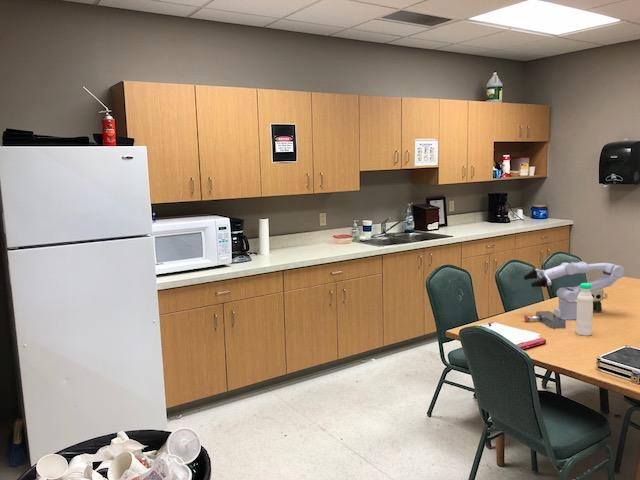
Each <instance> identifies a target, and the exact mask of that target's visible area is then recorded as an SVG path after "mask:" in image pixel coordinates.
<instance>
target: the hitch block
mask: <svg viewBox="0 0 640 480" xmlns="http://www.w3.org/2000/svg"><path fill="white" fill-rule="evenodd" d="M535 316H542V320H538V321H539V322H540V323H542V324H544V325H545V326H547V327H549V328H550V329H566V328H567V327H566V324H567V323H566V322H567V321H566V320H567V319H565V320H564V319H562V318H561V317H557V316H556V315H554V312H552V311H550V310H543V311H542V310H540V311H537V310H536V313H535Z"/></svg>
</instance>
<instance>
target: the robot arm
mask: <svg viewBox="0 0 640 480" xmlns="http://www.w3.org/2000/svg"><path fill="white" fill-rule="evenodd" d="M624 269H625V268H624V266H621V265H619V264H617V265H616V264H614V263H611V262H600V263H599V262H597V263H587V262H585V261H583V260H582V261H579V262H574V261H571V262H562V263H561V264H560V265H556V266H554V267H550V268H548V269H541V270H540V269H538V268H532V270H530V271H529V272H528V273H527V274H526V275H524V276H523V279H524V280H525V281H526V280H527V281H529V280H531V279H535V281H532V282H531V287H532V288H537V287H541V288H547V286H552V281H551V280H554V279H557V278H560V277H563V276H566V275H570V276H572V275H575V274H585V273H586V274H587V272H588V271H601V277H600V278H598V279H595V280H592V281H589V282H587V283H589V284H591V290H590V292H593V291H596V290H599V289H606V288H608V287H611V286H612V285H613V284H614V283H615V282H616V281H618V280H620V279H621V278H623V276H624V273H625V270H624ZM538 277H539V279H538ZM536 279H538V280H536ZM580 291H581V289H580V285H576V286H568V287H560V288H558V289H557V291H556V296H557V298H558V308H557V309H559V310H560V317H561V318H562V319H564V320H577V297H578V295H579V293H580Z"/></svg>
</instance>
